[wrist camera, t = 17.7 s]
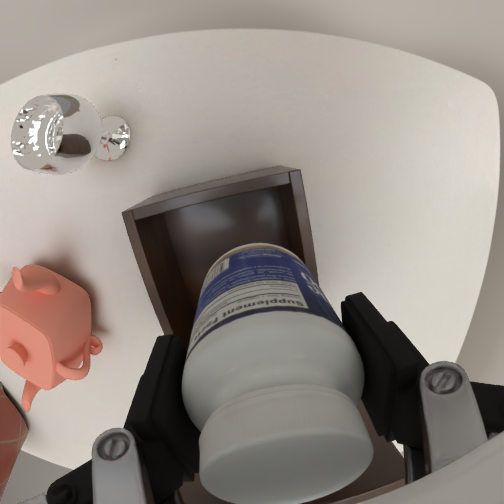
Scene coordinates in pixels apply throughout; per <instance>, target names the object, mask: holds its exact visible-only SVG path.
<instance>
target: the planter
mask: <svg viewBox="0 0 504 504" xmlns="http://www.w3.org/2000/svg"><path fill="white" fill-rule="evenodd" d="M27 433H28V429H27V426H26V423H25V421H24V419H23V418H22V416H21V414H20V413H19V411H18V410H17V409H16V407H15V406H14V405H13V403H12V402H11V401H10V400H9V398H8V397H7V396H6V394H5V393H4V390H3V387H2V384H1V383H0V500H1V498H2V495H3V493H4V490H5V487H6V485H7V482H8V480H9V477H10V474H11V471H12V469H13V466H14V464H15V461H16V459H17V456H18V454H19V452H20V450H21V447H22V445H23V443H24V441H25V439H26V436H27Z"/></svg>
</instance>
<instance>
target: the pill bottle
mask: <svg viewBox="0 0 504 504" xmlns="http://www.w3.org/2000/svg"><path fill="white" fill-rule="evenodd" d="M364 381H365V373H364V366H363V362H362V359H361V356H360V354H359V352H358V350H357V348H356V346H355V343H354V342H353V340H352V338H351V337H350V335H349V334H348V332H347V330H346V329H345V327H344V326H343V324H342V322H341V321H340V319H339V318H338V316H337V314H336V313H335V311H334V310H333V308H332V306H331V304H330V303H329V301H328V300H327V298H326V297H325V295H324V293H323V292H322V290H321V288H320V287H319V285H318V284H317V282H316V281H315V279H314V278H313V276H312V274H311V273H310V271H309V270H308V268H307V267H306V266H305V265H304V263H303V262H302V261H301V260H300V259H299V258H298V257H297V256H296V255H295V254H293V253H292V252H290V251H289V250H287V249H285V248H283V247H280V246H277V245H273V244H268V243H252V244H246V245H242V246H239V247H236V248H234V249H232V250H230V251H228V252H227V253H225V254H224V255H223V256H221V257H220V258H219V259H218V260H217V261H216V262H215V263H214V264H213V266H212V267H211V268H210V270H209V272H208V273H207V276H206V278H205V280H204V283H203V287H202V290H201V293H200V298H199V302H198V307H197V311H196V315H195V319H194V324H193V328H192V333H191V338H190V343H189V348H188V352H187V356H186V361H185V366H184V371H183V376H182V398H183V403H184V406H185V409H186V411H187V413H188V415H189V417H190V419H191V421H192V422H193V423H194V425H195V426H196V427H197V428H198V429H199V430H200V431H201V434H200V438H199V448H200V469H199V475H200V480H201V483H202V485H203V486H204V488H205V489H206V490H207V491H208V492H210V493H211V494H213V495H214V496H216V497H218V498H220V499H222V500H225V501H228V502H231V503H235V504H301V503H304V502H308V501H312V500H315V499H318V498H321V497H324V496H326V495H329V494H331V493H333V492H335V491H338V490H340V489H342V488H343V487H345V486H347V485H348V484H350V483H351V482H353V481H354V480H356V479H357V478H358V477H359V476H360V475H361V474H362V473H363V472H364V471H365V470H366V469H367V467H368V466H369V465H370V463H371V461H372V458H373V454H374V450H373V444H372V441H371V439H370V436H369V433H368V431H367V428H366V426H365V424H364V421H363V419H362V416H361V414H360V412H359V410H358V409H357V405H358V403H359V401H360V399H361V396H362V393H363V388H364Z"/></svg>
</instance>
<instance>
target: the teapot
mask: <svg viewBox="0 0 504 504" xmlns="http://www.w3.org/2000/svg"><path fill="white" fill-rule="evenodd" d="M90 346H93V347H95V348H93V347H90ZM101 350H102V343H101V341H100V340H99V339H98V338H97V337H95V336H93V335H91V302H90V298H89V296H88V294H87V292H86V291H85V290H84V289H83V288H82V287H80V286H79V285H77V284H75V283H74V282H72V281H70V280H69V279H67V278H65V277H63V276H61V275H60V274H58V273H56V272H54V271H51V270H49V269H47V268H45V267H42V266H38V265H27V266H24V267H23V268H22V269H20V270H19V269H18V268H17V267H14V268H13V271H12V278H11V279H10V280H9V282H8V283H7V285H6V286H5V288H4V289H3V291H2V292H0V358H1V360H2V361H3V363H4V364H5V365H6V366H8V367H9V368H10V369H11V370H13V371H14V372H15V373H17V374H18V375H20V376H21V377H23V378H24V379H26V383H25V387H24V391H23V395H22V406H23V408H24V410H25V411H26V412H29V411H30V407H31V403H32V400H33V398H34V396H35V395H36V393H37V392H38V391H39V390H40V389H41V388H42V389H44V390H50V389H52V388H54V387H56V386H57V385H59V384H60V383H62V382H63V381H65V380H66V379H70V380H80V379H83V378H84V377H86V375H87V374H88V372H89V369H90V354H92V355H97V354H99V353H100V352H101ZM82 361H83V365H82V367H81V368H79V369H77V368H78V367H79V365H80V364H81V362H82Z"/></svg>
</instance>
